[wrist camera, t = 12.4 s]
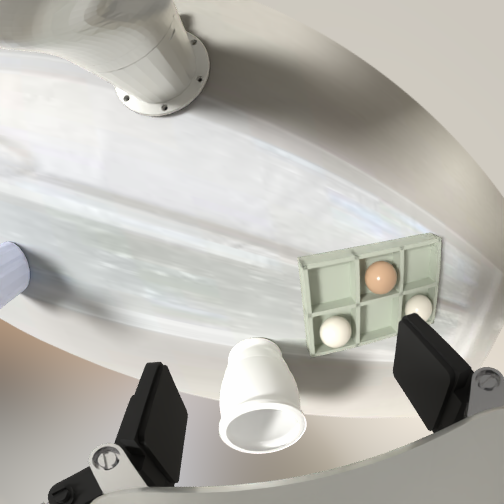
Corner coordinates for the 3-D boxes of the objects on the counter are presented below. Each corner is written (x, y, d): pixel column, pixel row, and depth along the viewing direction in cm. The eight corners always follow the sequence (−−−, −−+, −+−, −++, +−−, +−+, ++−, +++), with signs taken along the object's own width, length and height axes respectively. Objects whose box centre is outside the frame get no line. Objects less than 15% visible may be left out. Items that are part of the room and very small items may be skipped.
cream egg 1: (315, 313, 41) (323, 330, 36) (345, 307, 41) (356, 322, 36) (317, 339, 42) (324, 357, 38) (345, 332, 42) (355, 349, 38)
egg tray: (297, 257, 39) (302, 265, 36) (429, 232, 39) (441, 237, 36) (306, 345, 44) (311, 357, 41) (424, 314, 44) (433, 322, 41)
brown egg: (359, 259, 39) (372, 271, 34) (387, 253, 39) (403, 264, 34) (359, 289, 40) (372, 303, 36) (387, 282, 40) (402, 296, 36)
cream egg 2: (400, 293, 41) (415, 306, 36) (423, 286, 41) (439, 298, 36) (398, 318, 42) (412, 333, 38) (421, 311, 42) (435, 324, 38)
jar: (229, 324, 42) (228, 397, 27) (297, 336, 43) (320, 407, 29) (216, 377, 45) (211, 449, 30) (276, 386, 46) (289, 456, 32)
